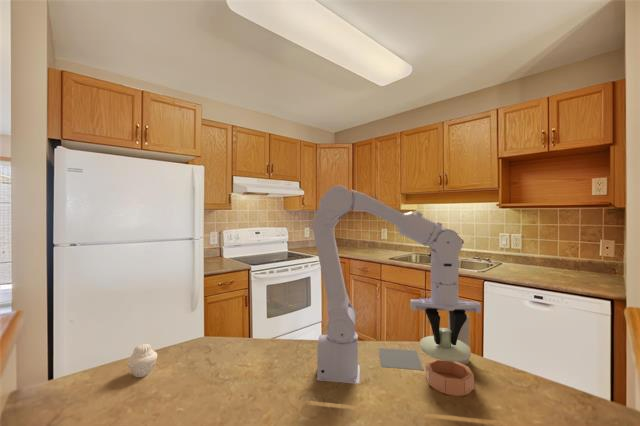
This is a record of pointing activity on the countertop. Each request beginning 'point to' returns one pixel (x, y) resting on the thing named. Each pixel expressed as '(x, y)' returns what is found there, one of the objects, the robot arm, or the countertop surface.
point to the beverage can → (463, 335)
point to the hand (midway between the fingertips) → (444, 342)
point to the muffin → (142, 360)
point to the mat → (400, 359)
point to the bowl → (449, 377)
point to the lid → (445, 347)
